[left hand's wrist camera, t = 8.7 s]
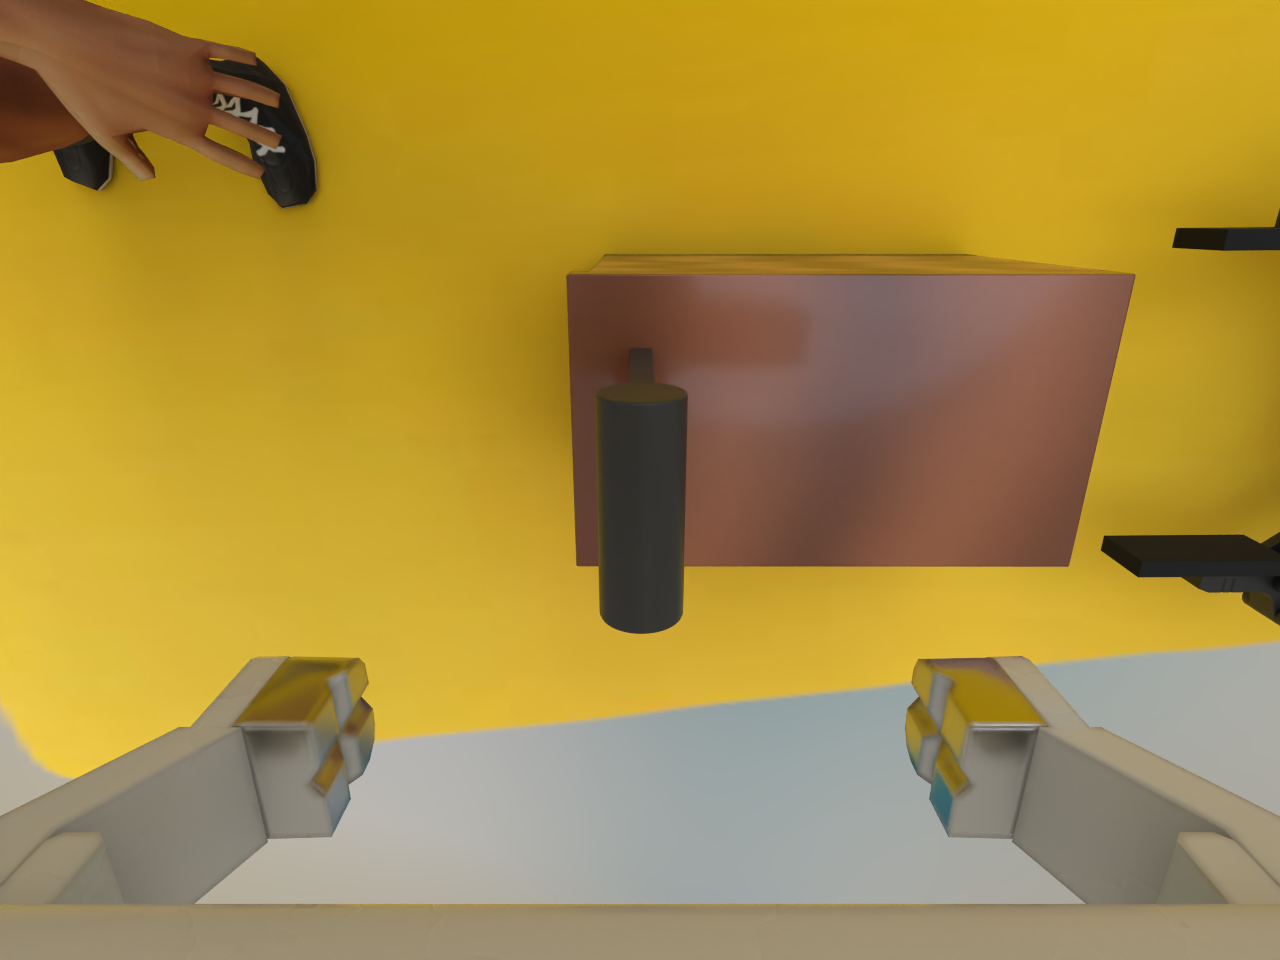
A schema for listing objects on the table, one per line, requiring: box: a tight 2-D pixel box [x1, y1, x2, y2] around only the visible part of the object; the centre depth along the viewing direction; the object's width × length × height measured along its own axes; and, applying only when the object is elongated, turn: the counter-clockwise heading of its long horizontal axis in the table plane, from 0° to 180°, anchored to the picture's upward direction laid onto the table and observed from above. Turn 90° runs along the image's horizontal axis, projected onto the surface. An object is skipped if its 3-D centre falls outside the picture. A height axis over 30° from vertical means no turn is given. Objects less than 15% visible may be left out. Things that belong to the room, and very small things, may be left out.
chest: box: [591, 254, 1104, 271], centre depth 31 cm, size 17×10×11 cm, turn 90°
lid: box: [566, 271, 1135, 634], centre depth 21 cm, size 18×10×9 cm, turn 90°
